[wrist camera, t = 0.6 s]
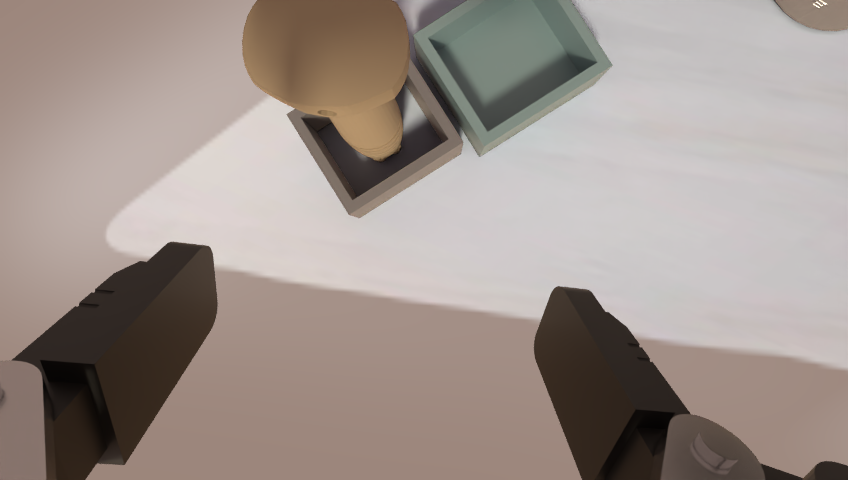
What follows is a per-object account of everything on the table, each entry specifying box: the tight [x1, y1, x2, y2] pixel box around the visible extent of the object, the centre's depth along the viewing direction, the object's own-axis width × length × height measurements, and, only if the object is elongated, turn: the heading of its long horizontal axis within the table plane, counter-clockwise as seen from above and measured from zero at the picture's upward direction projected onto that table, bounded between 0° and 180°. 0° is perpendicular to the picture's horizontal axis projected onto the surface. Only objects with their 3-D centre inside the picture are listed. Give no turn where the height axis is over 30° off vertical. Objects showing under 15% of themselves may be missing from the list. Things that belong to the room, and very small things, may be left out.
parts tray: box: [413, 0, 612, 157], centre depth 28 cm, size 10×9×3 cm
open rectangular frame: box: [287, 59, 463, 218], centre depth 29 cm, size 9×8×4 cm
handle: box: [242, 0, 410, 162], centre depth 23 cm, size 5×6×15 cm
